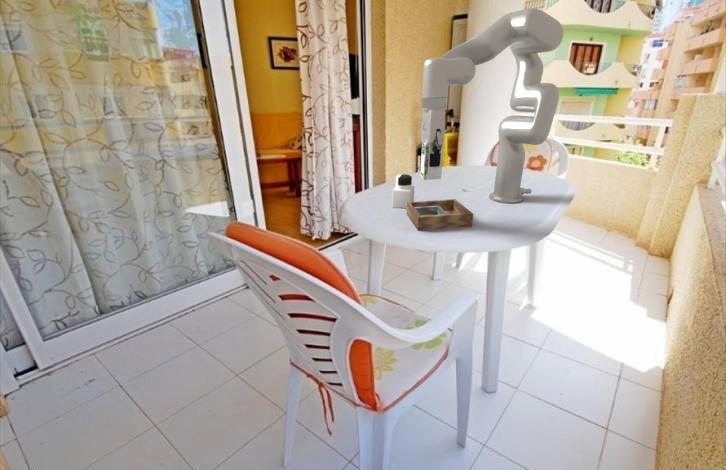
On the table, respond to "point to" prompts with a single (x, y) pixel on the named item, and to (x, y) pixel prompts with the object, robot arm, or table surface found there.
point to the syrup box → (426, 170)
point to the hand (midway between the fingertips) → (431, 163)
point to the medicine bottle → (402, 191)
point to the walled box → (439, 214)
